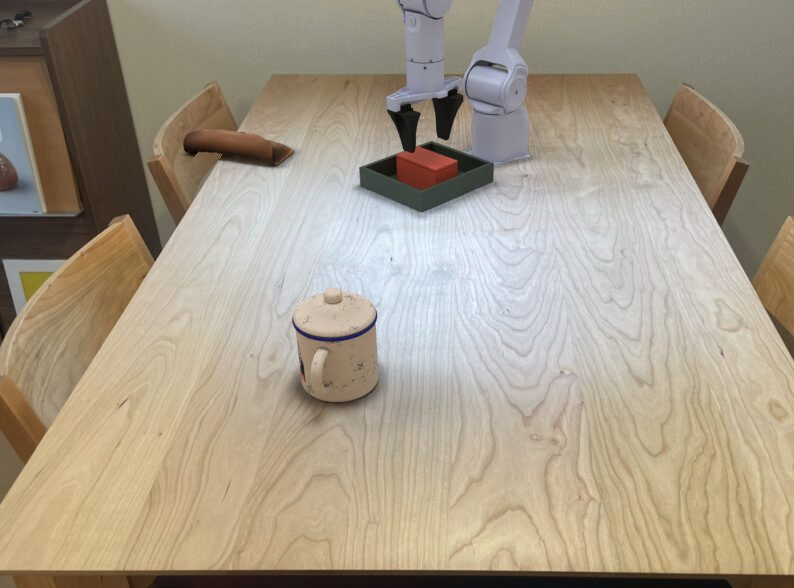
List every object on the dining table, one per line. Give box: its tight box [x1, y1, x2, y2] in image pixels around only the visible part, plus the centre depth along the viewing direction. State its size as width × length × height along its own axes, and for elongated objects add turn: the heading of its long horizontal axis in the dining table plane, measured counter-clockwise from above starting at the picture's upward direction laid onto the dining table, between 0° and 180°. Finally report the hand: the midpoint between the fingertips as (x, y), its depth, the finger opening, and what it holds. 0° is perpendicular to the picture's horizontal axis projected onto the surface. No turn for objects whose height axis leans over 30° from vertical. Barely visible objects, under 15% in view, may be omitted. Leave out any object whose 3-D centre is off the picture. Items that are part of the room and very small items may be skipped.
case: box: [396, 145, 458, 190], centre depth 142 cm, size 5×9×4 cm, turn 46°
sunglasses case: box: [182, 128, 295, 166], centre depth 155 cm, size 18×7×7 cm
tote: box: [358, 140, 495, 213], centre depth 143 cm, size 16×14×4 cm
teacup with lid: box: [291, 287, 380, 403], centre depth 95 cm, size 12×9×12 cm
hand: (426, 144), depth 140 cm, fingers open, 7 cm apart
